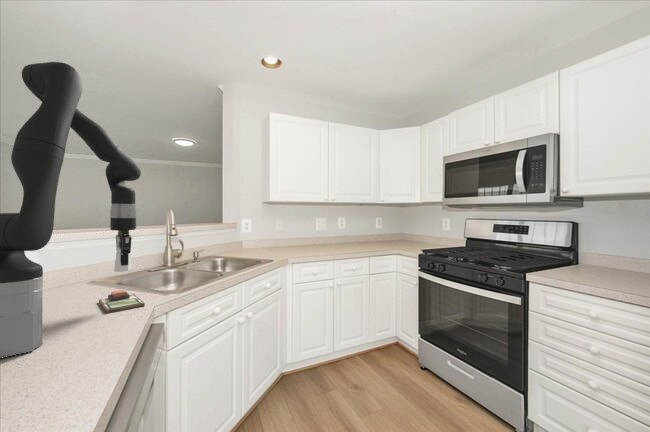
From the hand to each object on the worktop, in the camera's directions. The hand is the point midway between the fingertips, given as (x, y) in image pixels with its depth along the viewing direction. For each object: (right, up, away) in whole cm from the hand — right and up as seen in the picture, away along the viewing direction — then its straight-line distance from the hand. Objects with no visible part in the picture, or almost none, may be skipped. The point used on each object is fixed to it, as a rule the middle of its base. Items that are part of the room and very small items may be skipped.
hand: (123, 264), depth 100 cm
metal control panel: (-2, -15, +2) cm, 16 cm away
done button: (-6, -13, +6) cm, 16 cm away
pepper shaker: (0, -2, 0) cm, 2 cm away
